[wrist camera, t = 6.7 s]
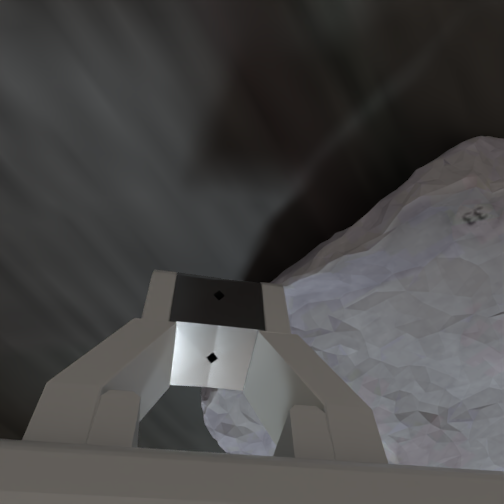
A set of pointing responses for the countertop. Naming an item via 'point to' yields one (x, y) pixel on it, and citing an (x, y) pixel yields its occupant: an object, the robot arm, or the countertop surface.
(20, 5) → the countertop surface
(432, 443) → the stone block
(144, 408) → the robot arm
